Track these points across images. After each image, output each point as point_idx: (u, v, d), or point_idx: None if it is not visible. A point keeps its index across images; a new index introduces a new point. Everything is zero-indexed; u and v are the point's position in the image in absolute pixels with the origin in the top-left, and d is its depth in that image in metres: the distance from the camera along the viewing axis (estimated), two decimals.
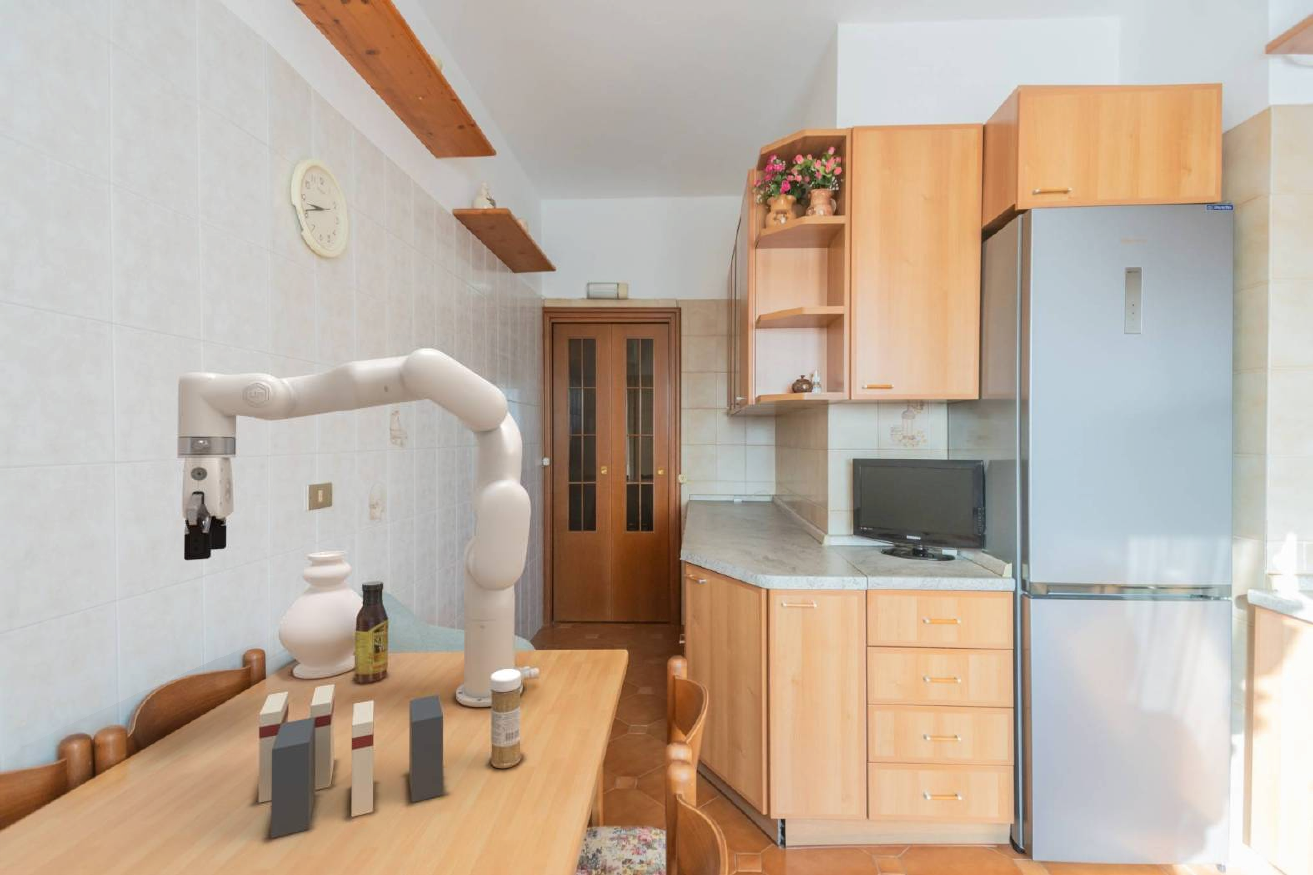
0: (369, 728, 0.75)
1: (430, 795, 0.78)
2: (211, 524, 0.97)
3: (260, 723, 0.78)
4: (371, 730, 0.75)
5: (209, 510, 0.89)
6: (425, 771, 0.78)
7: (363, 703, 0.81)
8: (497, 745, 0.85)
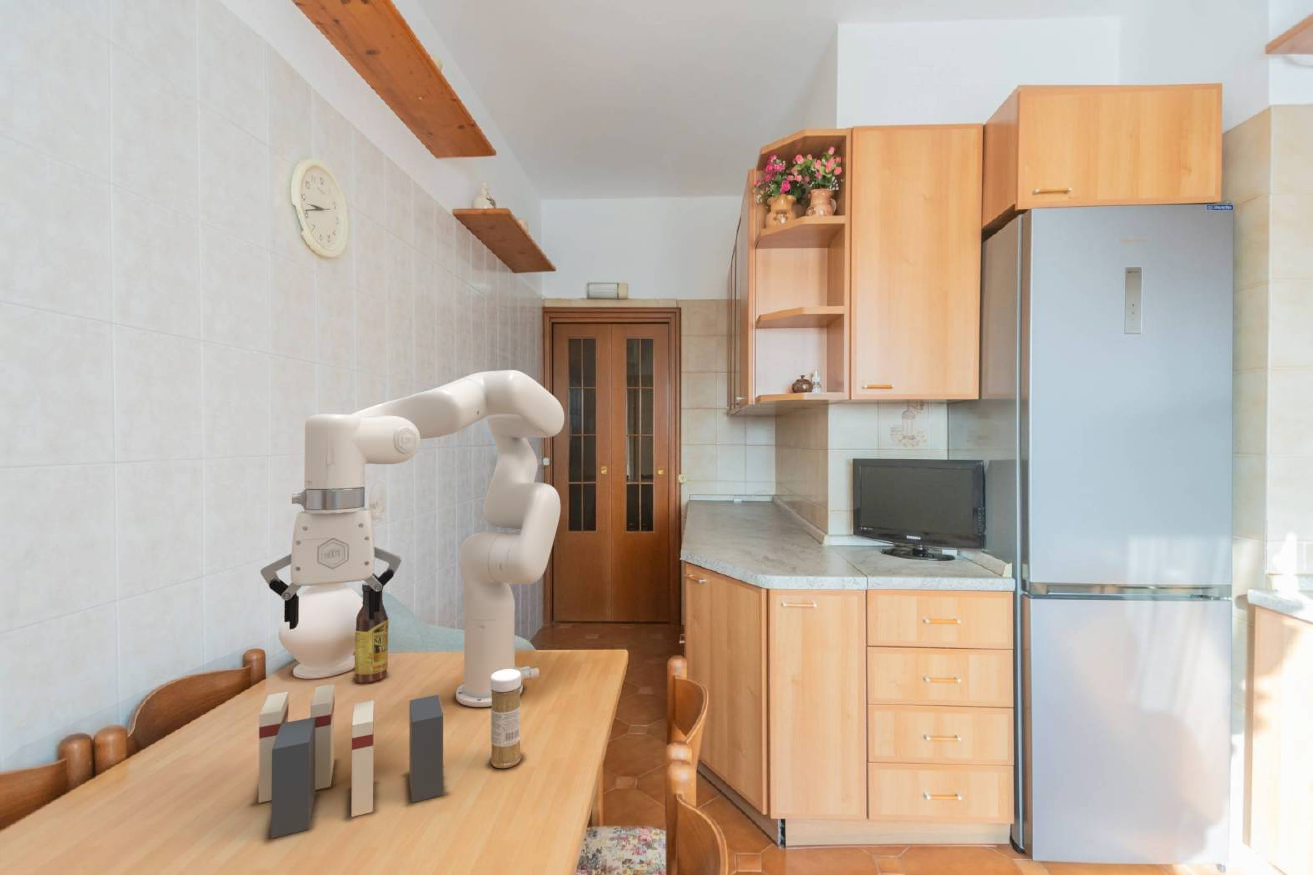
0: (369, 728, 0.75)
1: (430, 795, 0.78)
2: None
3: (260, 723, 0.78)
4: (371, 730, 0.75)
5: None
6: (425, 771, 0.78)
7: (363, 703, 0.81)
8: (497, 745, 0.85)
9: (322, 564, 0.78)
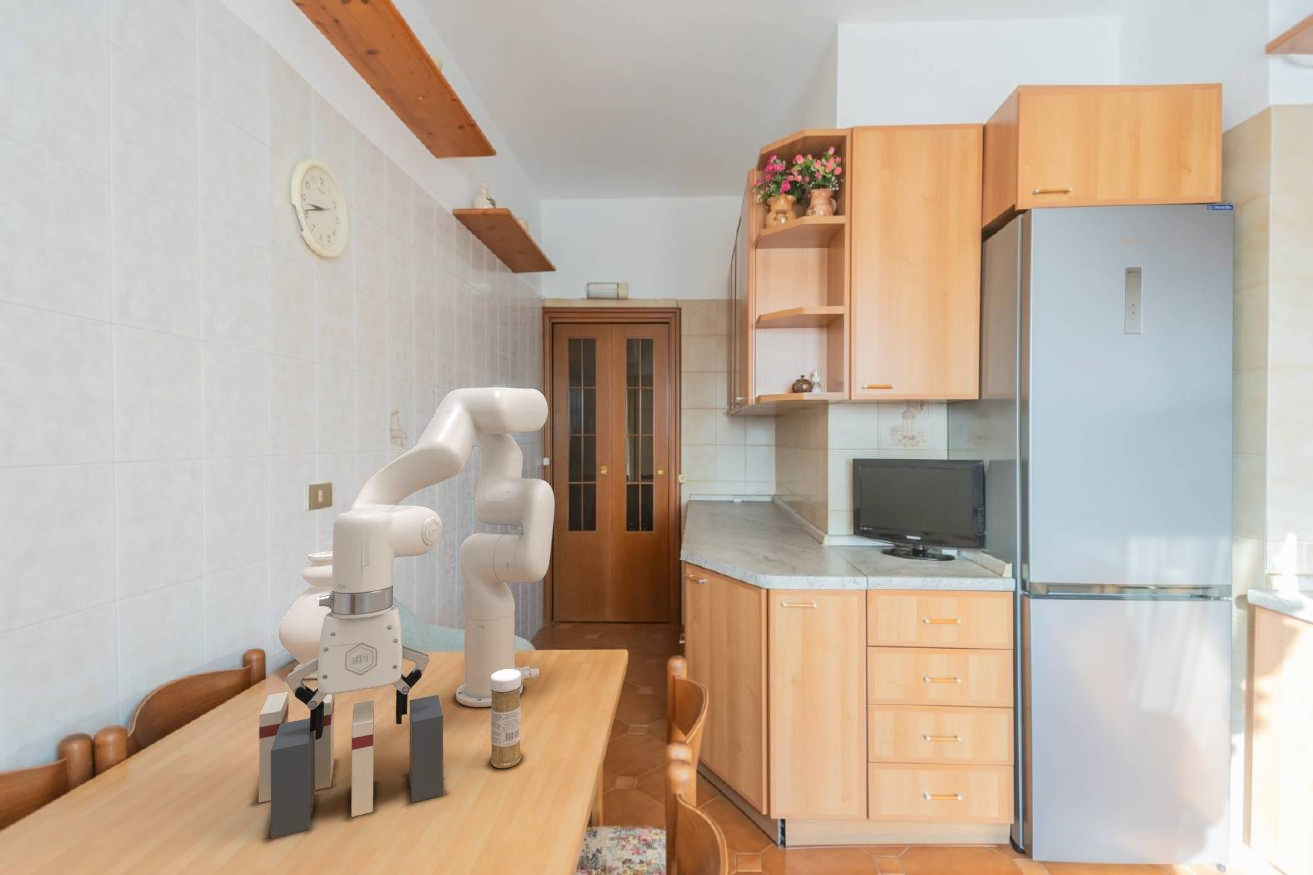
0: (369, 728, 0.75)
1: (430, 795, 0.78)
2: None
3: (260, 723, 0.78)
4: (371, 730, 0.75)
5: None
6: (425, 771, 0.78)
7: (363, 703, 0.81)
8: (497, 745, 0.85)
9: (350, 671, 0.75)
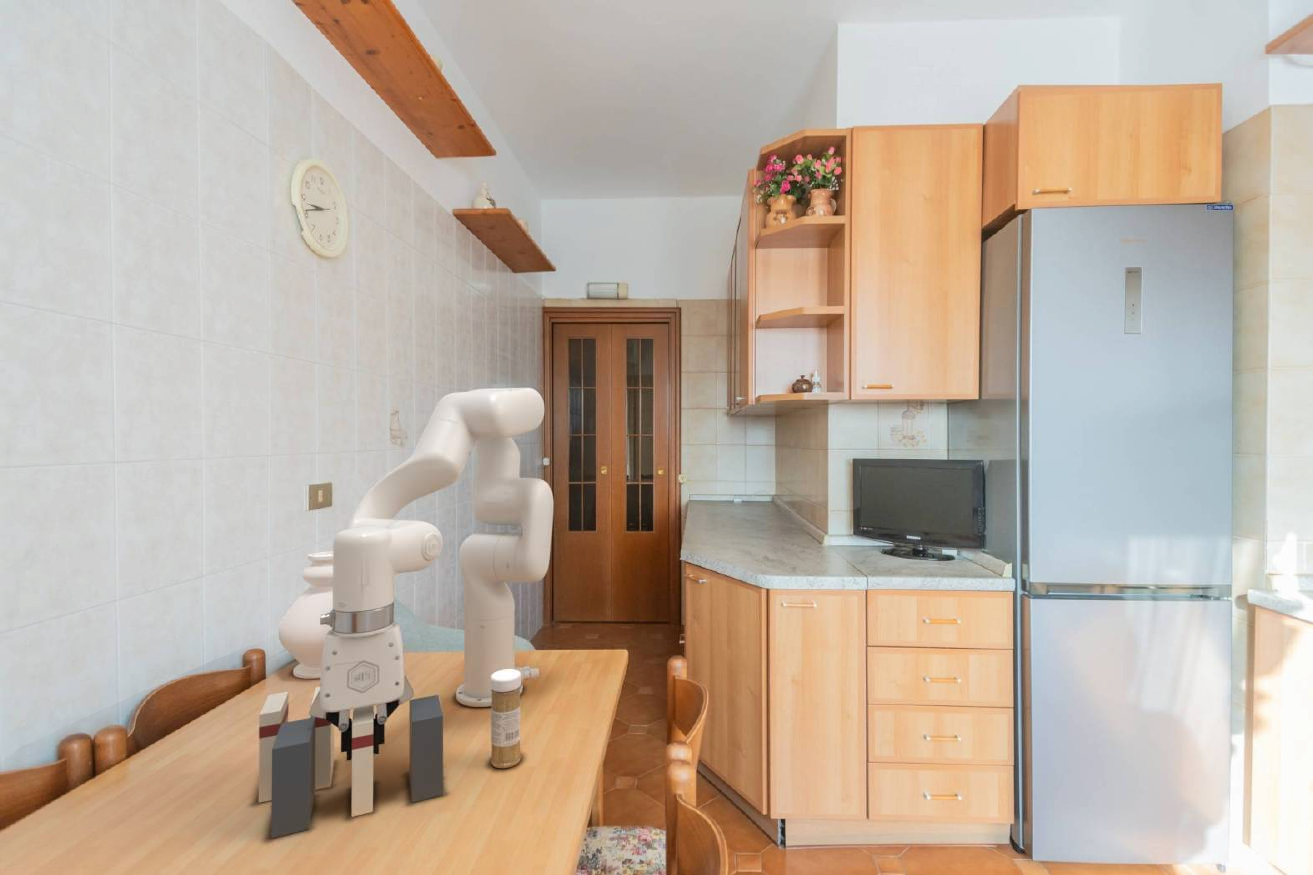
0: (369, 728, 0.75)
1: (430, 795, 0.78)
2: None
3: (260, 723, 0.78)
4: (371, 730, 0.75)
5: None
6: (425, 771, 0.78)
7: None
8: (497, 745, 0.85)
9: (352, 688, 0.75)
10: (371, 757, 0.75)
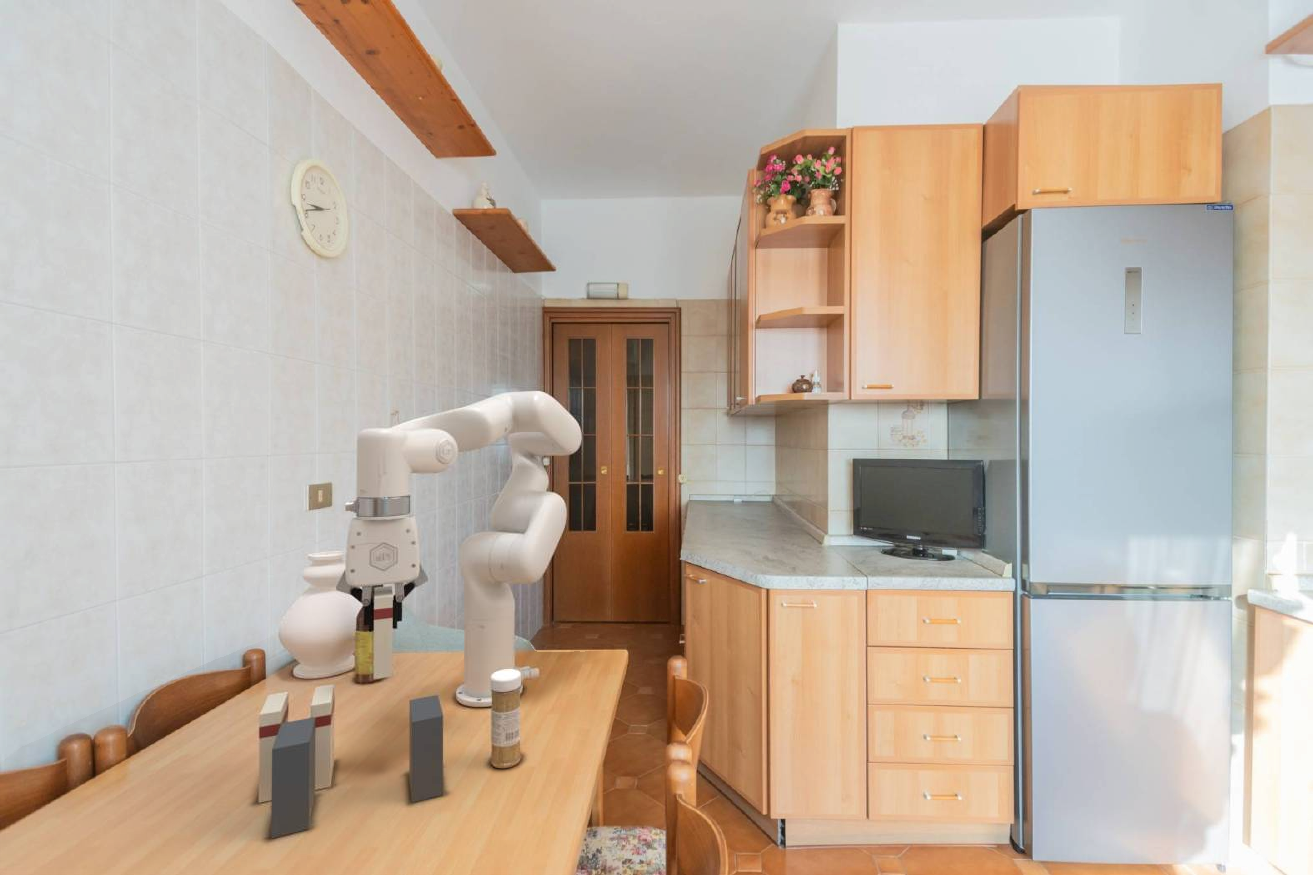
0: (389, 602, 0.85)
1: (430, 795, 0.78)
2: None
3: (260, 723, 0.78)
4: (391, 604, 0.85)
5: (345, 575, 0.84)
6: (425, 771, 0.78)
7: (383, 587, 0.90)
8: (497, 745, 0.85)
9: (374, 566, 0.85)
10: (391, 628, 0.85)
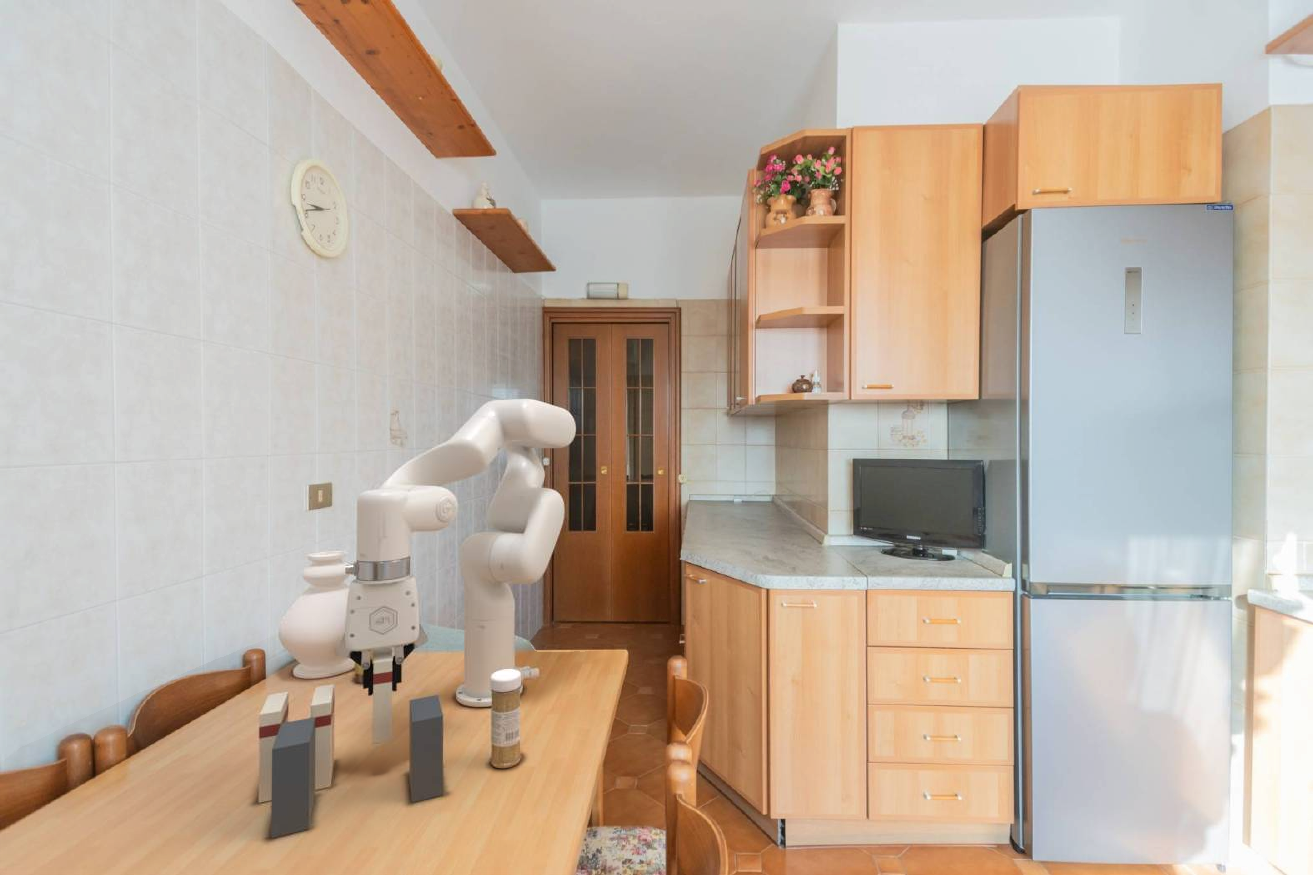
0: (388, 666, 0.85)
1: (430, 795, 0.78)
2: None
3: (260, 723, 0.78)
4: (390, 668, 0.85)
5: None
6: (425, 771, 0.78)
7: None
8: (497, 745, 0.85)
9: (373, 630, 0.84)
10: (390, 692, 0.85)
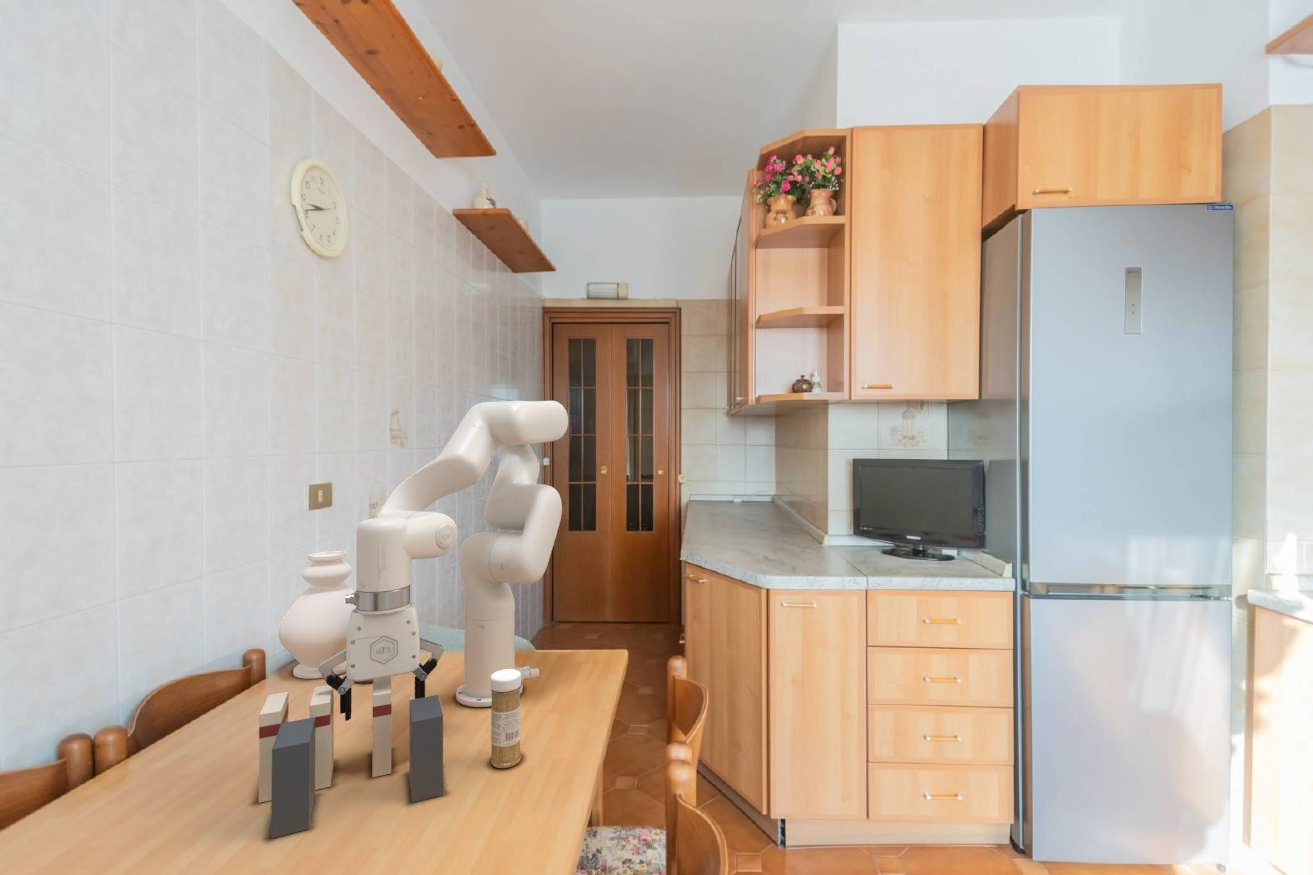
0: (388, 698, 0.84)
1: (430, 795, 0.78)
2: (416, 675, 0.90)
3: (260, 723, 0.78)
4: (390, 700, 0.84)
5: None
6: (425, 771, 0.78)
7: None
8: (497, 745, 0.85)
9: (374, 660, 0.84)
10: (390, 724, 0.84)
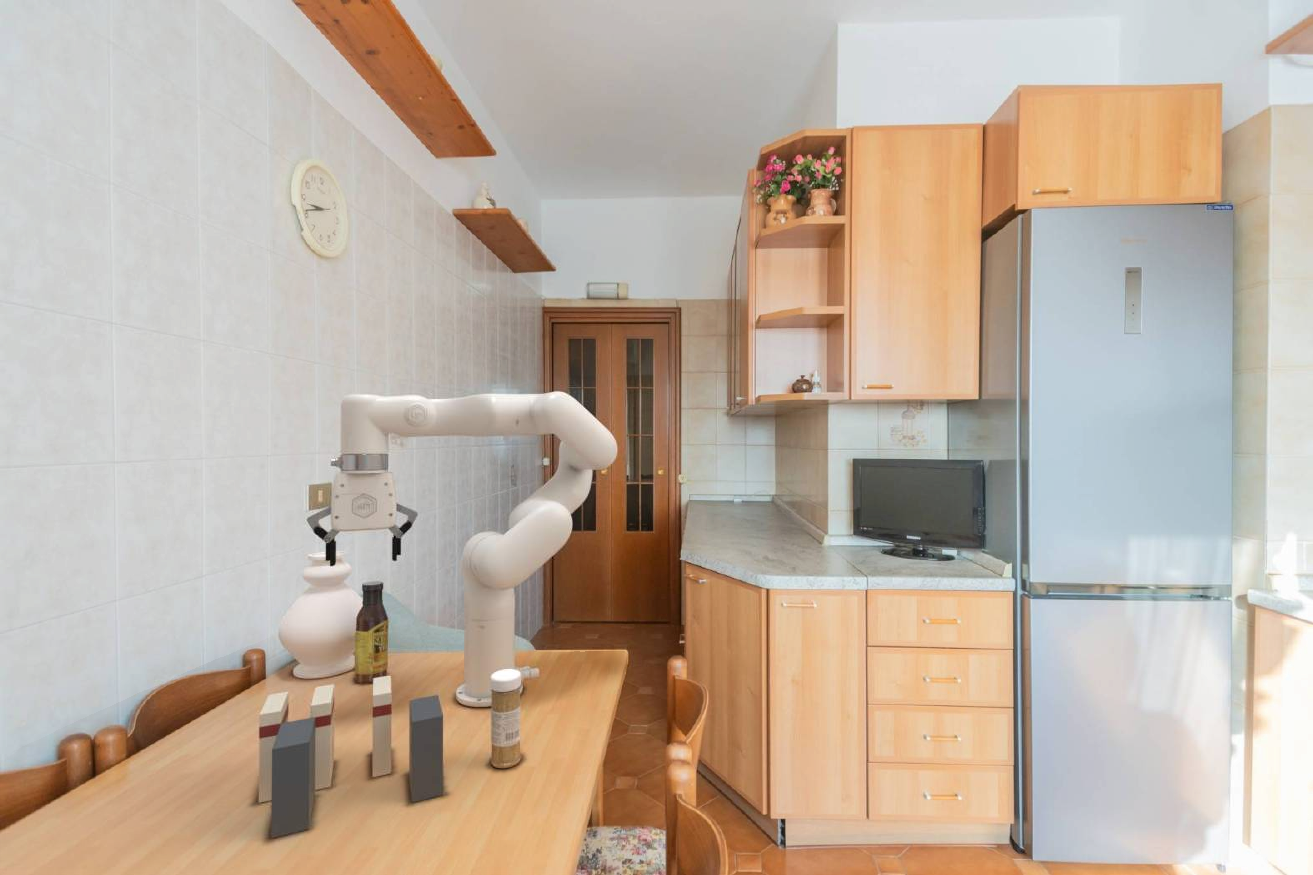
0: (388, 698, 0.84)
1: (430, 795, 0.78)
2: (393, 535, 1.02)
3: (260, 723, 0.78)
4: (390, 700, 0.84)
5: None
6: (425, 771, 0.78)
7: (382, 677, 0.90)
8: (497, 745, 0.85)
9: (355, 514, 0.97)
10: (390, 724, 0.84)
